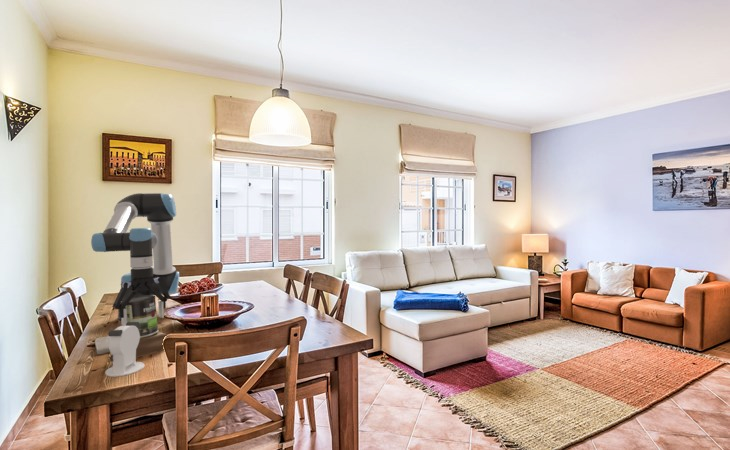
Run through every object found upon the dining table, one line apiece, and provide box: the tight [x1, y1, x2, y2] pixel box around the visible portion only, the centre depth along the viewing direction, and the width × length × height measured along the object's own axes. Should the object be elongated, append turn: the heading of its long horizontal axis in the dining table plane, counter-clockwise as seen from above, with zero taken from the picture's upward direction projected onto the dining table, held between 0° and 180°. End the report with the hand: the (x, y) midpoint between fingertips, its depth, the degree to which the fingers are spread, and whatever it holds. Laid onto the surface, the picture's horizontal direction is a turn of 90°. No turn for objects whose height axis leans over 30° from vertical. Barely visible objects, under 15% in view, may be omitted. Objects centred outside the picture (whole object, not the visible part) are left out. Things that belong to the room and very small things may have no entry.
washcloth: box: [94, 335, 110, 355], centre depth 152 cm, size 12×18×3 cm, turn 39°
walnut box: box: [136, 331, 168, 359], centre depth 147 cm, size 12×12×6 cm
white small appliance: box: [104, 322, 145, 378], centre depth 128 cm, size 12×11×15 cm
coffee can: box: [126, 295, 160, 338], centre depth 146 cm, size 10×10×14 cm
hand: (143, 321), depth 146 cm, fingers open, 13 cm apart
